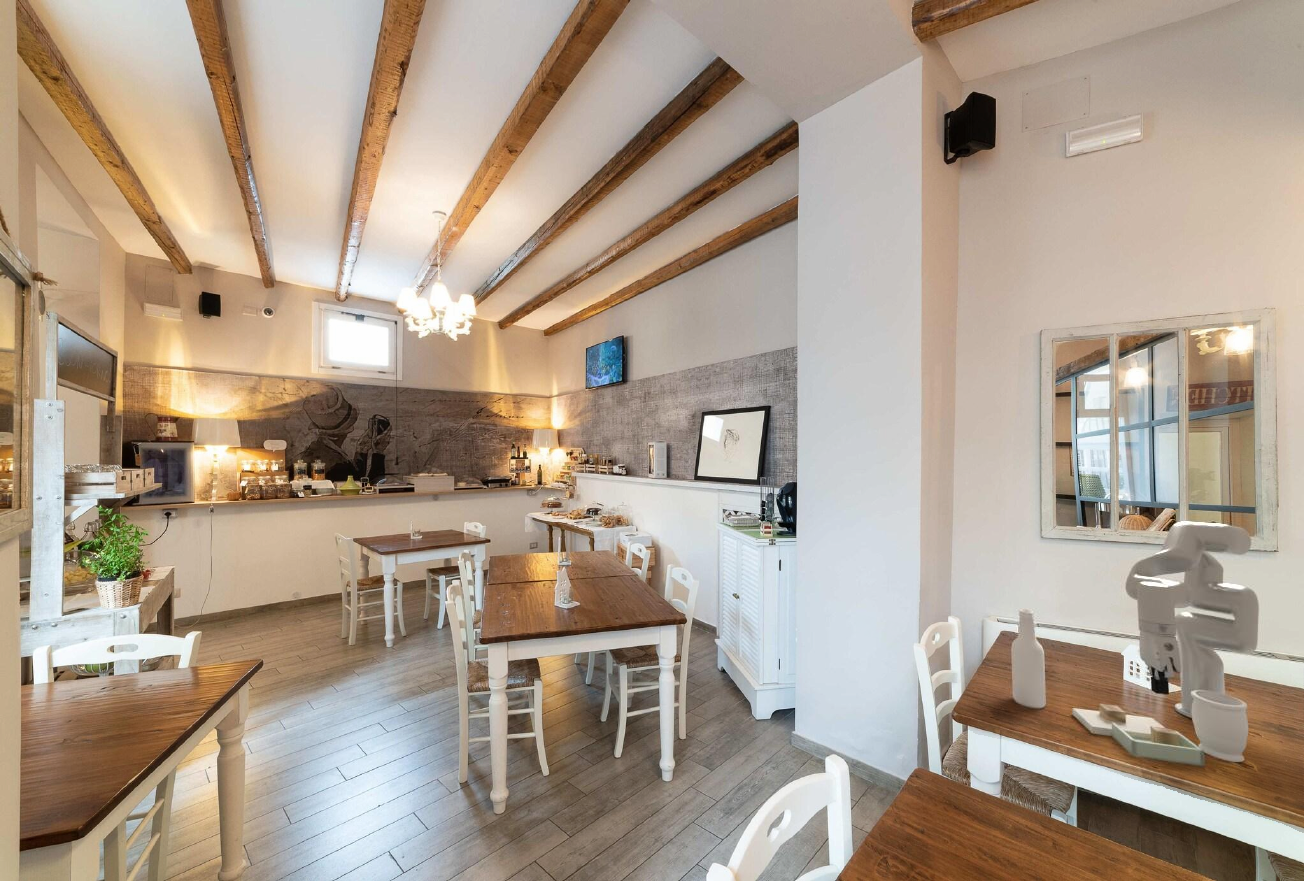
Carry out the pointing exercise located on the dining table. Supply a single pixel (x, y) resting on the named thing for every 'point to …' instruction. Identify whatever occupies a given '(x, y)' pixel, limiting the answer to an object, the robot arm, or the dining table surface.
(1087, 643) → the dining table surface
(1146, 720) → the board
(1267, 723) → the dining table surface
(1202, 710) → the jar
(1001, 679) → the dining table surface
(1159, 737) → the tan faceted block
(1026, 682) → the alcohol
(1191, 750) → the tray
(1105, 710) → the tan block
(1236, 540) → the robot arm
